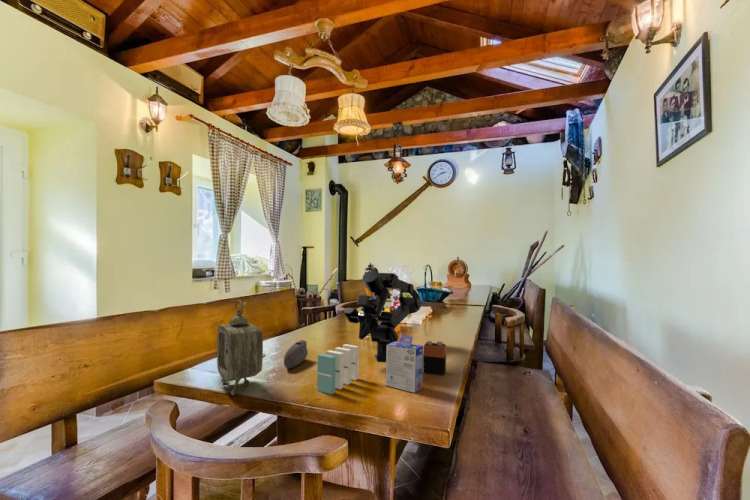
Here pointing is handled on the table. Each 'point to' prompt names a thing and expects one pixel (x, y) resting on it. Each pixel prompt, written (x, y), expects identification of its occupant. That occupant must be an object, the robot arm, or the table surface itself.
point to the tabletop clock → (239, 349)
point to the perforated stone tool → (295, 354)
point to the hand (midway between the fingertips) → (360, 338)
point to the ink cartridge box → (404, 365)
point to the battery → (435, 358)
